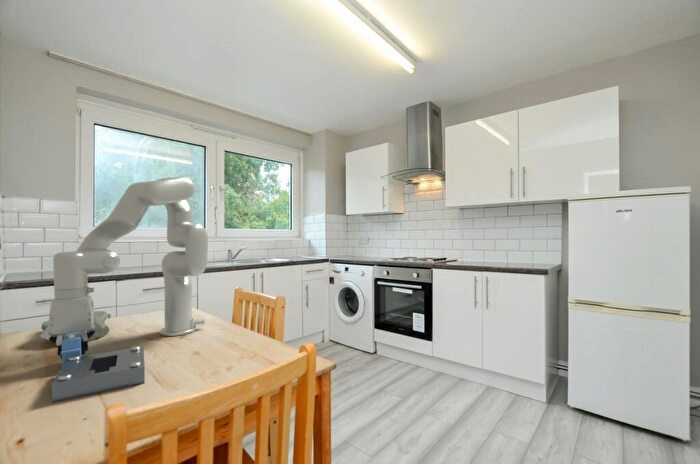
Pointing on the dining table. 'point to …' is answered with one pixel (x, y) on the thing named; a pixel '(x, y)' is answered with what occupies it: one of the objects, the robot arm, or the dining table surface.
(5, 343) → the dining table surface
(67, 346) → the servo
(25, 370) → the dining table surface
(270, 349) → the dining table surface
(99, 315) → the stone
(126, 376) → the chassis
